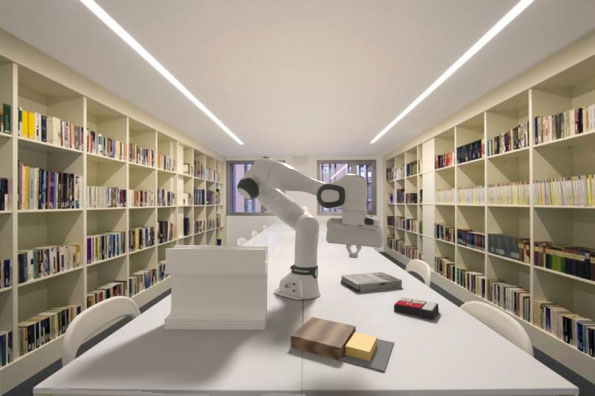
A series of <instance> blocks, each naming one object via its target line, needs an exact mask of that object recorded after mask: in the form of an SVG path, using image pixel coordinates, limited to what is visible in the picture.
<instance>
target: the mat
mask: <svg viewBox="0 0 595 396" xmlns="http://www.w3.org/2000/svg"><path fill="white" fill-rule="evenodd" d="M393 347H394V342H393V341H389V340H385V339H380V338H377V346H376V348H375V350H374V353H373V355H372V357H371V359H370V361H367V360H364V359H360V358H356V357H352V356H349V355H345V354H344V356H343V358H342V359H341V361H342V362H345V363H349V364H351V365H357V366H360V367H364V368H367V369H370V370H375V371H378V372H382V373H385V372H386V369H387V365H388V362H389V360H390V356H391V353H392V350H393Z"/></svg>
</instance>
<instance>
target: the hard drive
mask: <svg viewBox="0 0 595 396" xmlns="http://www.w3.org/2000/svg"><path fill="white" fill-rule="evenodd" d="M340 283H341V284H343V285H344V286H346V287H347V288H349V289H351V290H352V291H355V292H356V293H366V292H375V291H376V292H377V291H386V290H387V291H388V290H393V289H402V288H403V279H400V278H398V277H395V276H393V275H390V274H388V273H385V272H382V271H377V272H366V273H365V272H364V273H354V274H343V275H342V274H341V279H340Z"/></svg>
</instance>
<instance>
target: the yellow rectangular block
mask: <svg viewBox="0 0 595 396" xmlns="http://www.w3.org/2000/svg"><path fill="white" fill-rule="evenodd" d="M377 339H378V337H377V336H374V335H370V334H365V333H361V332H357V331H356V332H355V333H354V334H353V336H352V337H351V339H350V340H349V342H348V343H347V344H346V346H345V354H344V355H349V356H352V357H356V358H360V359H364V360H367V361H370V359H371V357H372V355H373V353H374V350H375V348H376V346H377Z"/></svg>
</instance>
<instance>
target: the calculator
mask: <svg viewBox="0 0 595 396" xmlns="http://www.w3.org/2000/svg"><path fill="white" fill-rule="evenodd" d="M393 310H394V312H396V313H400V314H404V315H408V316H413V317H419V318H421V319H425V320H429V321H434V320H435V319H436V317H437V316H438V314H439V311H440V310H439V303H437V302H433V301H426V300H423V299H415V298H414V299H413V298H409V297H403V296H402V297H401V298H400V299H399V300H397V302H395V303H394V305H393Z"/></svg>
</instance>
